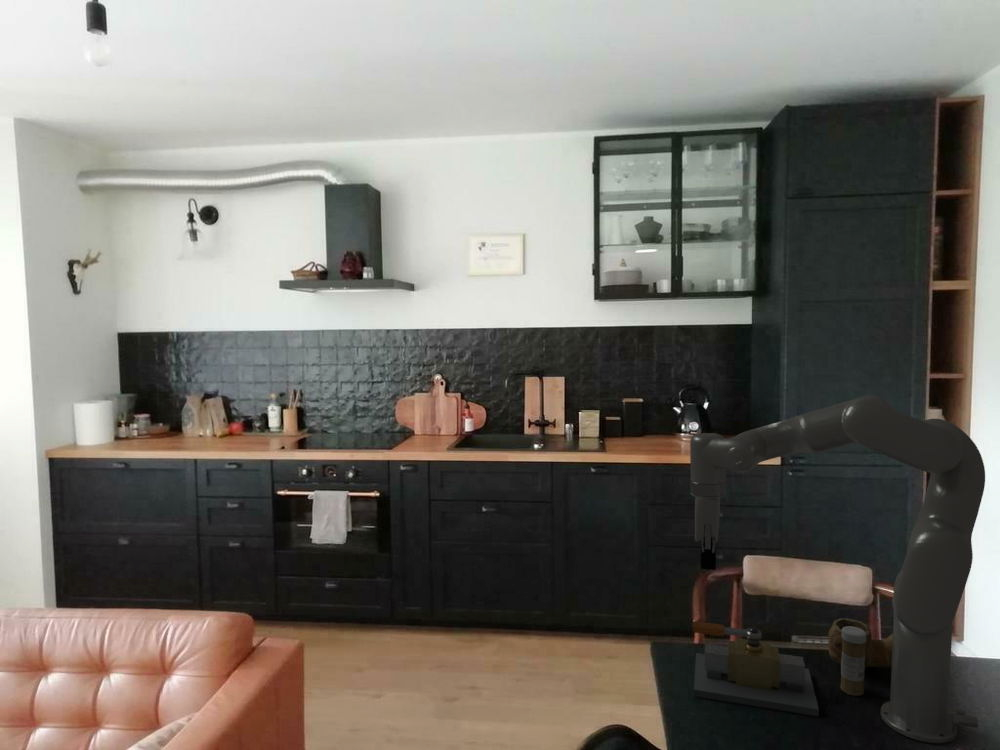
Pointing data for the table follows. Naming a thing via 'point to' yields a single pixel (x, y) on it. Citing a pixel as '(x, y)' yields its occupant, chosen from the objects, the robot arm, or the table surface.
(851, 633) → the sprinkles bottle
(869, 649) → the pipe
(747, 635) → the lever
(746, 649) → the valve
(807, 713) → the valve board
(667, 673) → the table surface
